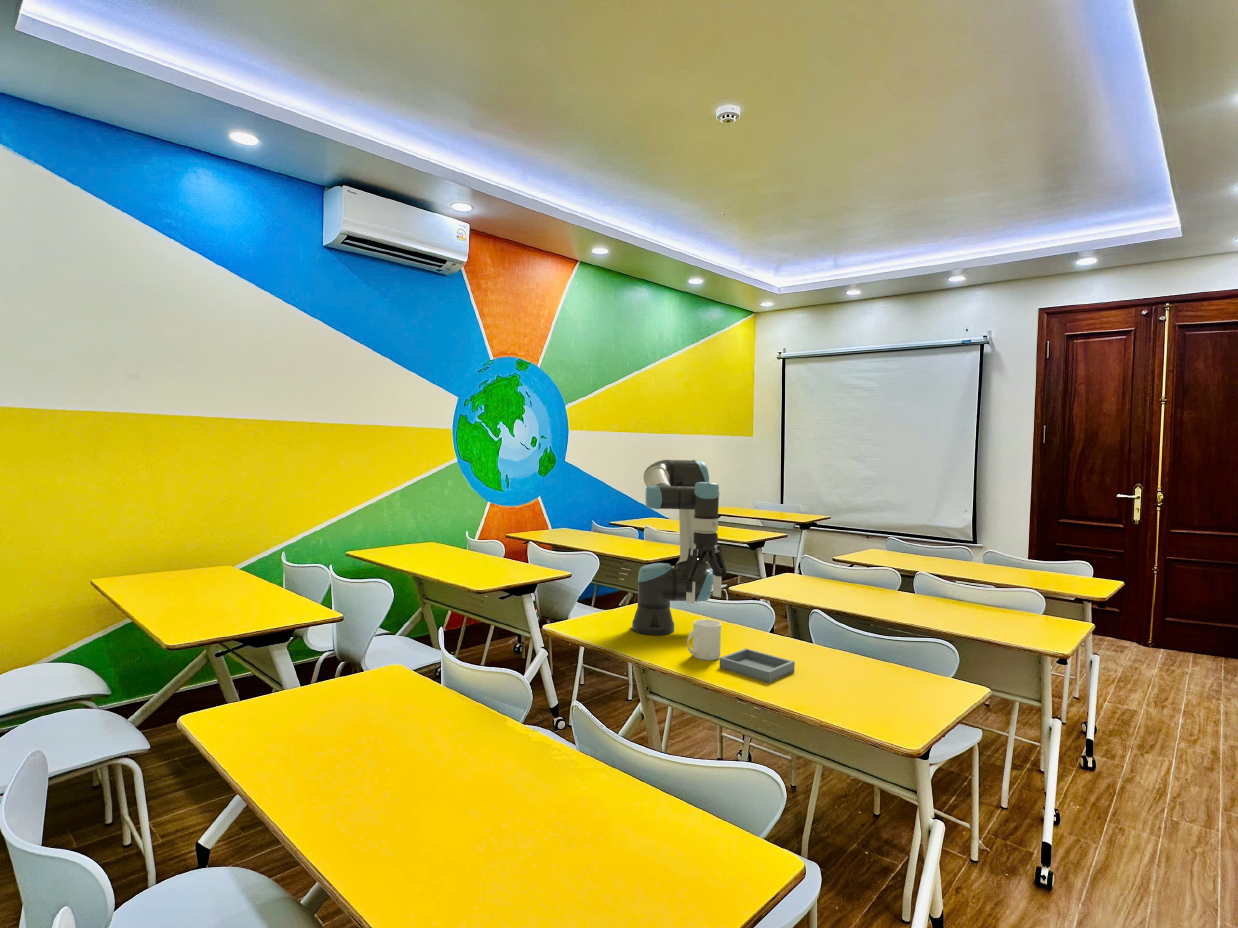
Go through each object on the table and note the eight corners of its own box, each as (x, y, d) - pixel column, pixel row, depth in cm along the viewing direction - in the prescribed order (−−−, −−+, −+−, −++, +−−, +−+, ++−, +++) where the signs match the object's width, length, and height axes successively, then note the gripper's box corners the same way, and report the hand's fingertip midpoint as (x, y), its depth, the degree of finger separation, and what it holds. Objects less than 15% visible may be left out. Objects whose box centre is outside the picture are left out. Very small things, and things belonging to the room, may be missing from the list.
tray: (719, 667, 200) (719, 657, 200) (745, 657, 210) (746, 648, 210) (769, 682, 189) (769, 672, 188) (794, 671, 199) (794, 661, 199)
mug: (678, 656, 211) (679, 622, 210) (708, 650, 217) (709, 618, 216) (695, 664, 203) (696, 629, 203) (725, 658, 209) (726, 624, 209)
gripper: (690, 536, 197) (688, 607, 198) (738, 530, 215) (736, 595, 215) (670, 533, 202) (668, 603, 203) (719, 527, 220) (717, 591, 221)
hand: (703, 599), depth 209 cm, fingers open, 13 cm apart
